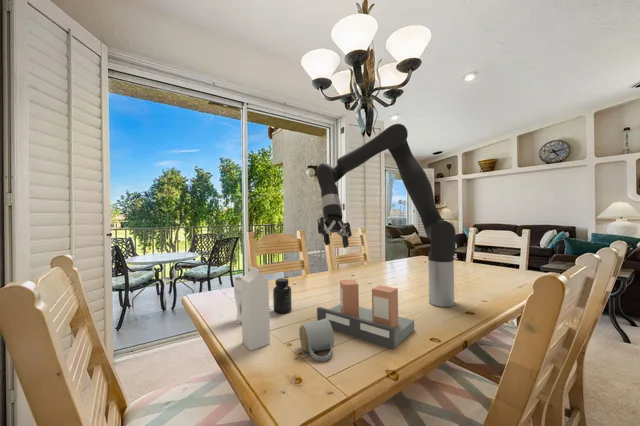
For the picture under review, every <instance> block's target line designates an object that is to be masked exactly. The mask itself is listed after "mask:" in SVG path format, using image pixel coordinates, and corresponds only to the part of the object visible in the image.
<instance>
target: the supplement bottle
mask: <svg viewBox="0 0 640 426" xmlns="http://www.w3.org/2000/svg"><path fill="white" fill-rule="evenodd" d="M289 284H290V283H289V279H288V278H285V277H283V278H282V277H281V278H276V279H275V286H274V288H273V290H272V292H273V293H272V295H273V296H272V297H273V298H272V299H273V302H272V303H273V312H274V313H275V314H278V315H286V314H289V313H290V312H291V311H292V307H293V305H292V303H293V302H292V288H291V286H290V285H289Z"/></svg>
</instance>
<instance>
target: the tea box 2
mask: <svg viewBox="0 0 640 426" xmlns="http://www.w3.org/2000/svg"><path fill="white" fill-rule="evenodd" d="M398 291H399V288H397V287H391V286H385V285H381V284H379V285H378V286H375V287H373V288H371V305H372V306H371V308H372V309H371V310H372V322H376V323H379V324H383V325H387V326H390V327H394V328H395V327H396V326H397V325H398V317H399V292H398Z"/></svg>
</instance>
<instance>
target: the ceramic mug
mask: <svg viewBox="0 0 640 426" xmlns="http://www.w3.org/2000/svg"><path fill="white" fill-rule="evenodd" d="M298 335H299V343H300V347H301V349H302V351H303V352H305V353H309V355H310V356H311V357H312V359H313V360H315V361H318V362H325V361H328V360H329V359H330V358H331V357H332V355H333V348H334V346H335V335H334V330H333V329H332V326H331V324H330V322H329V320H328V319H322V320H318V321H317V320H314V321H311V322H306V323H304V324H302V325H301V326H300V327H299V333H298ZM325 350H330V351H329V352H328V354H327V355H324V356H320V355H316V354H315V352H318V351H319V352H320V351H325Z"/></svg>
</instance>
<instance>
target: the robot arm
mask: <svg viewBox="0 0 640 426" xmlns="http://www.w3.org/2000/svg"><path fill="white" fill-rule="evenodd" d="M408 134H409V133H408V129H407V127H406V125H404V124H402V123H398V122H395V123H392V124H390V125H388V126H387V127H386V128H384V129H383V130H382V131H381V132H380V133H379V134H377V135H376V136H374V137H373V138H371V139H370V140H368V141H367V142H364V143H363V144H362V145H360V146H357V147H356V148H355V149H353V150H351V151H349V152H347V153H345V154H344V155H342V156H340V157H339V158H337V159H336V160H337V161H336V165H335V167H334V168H333V166H332V165H331V164H330V163H328V162H322V163H320V164H319V165H318V166H317V169H316V178H317V181H318V185H319V188H320V193H321V206H322V207H321V208H322V216H320V218H318V219H317V232H318V234H319V235H322V238H323V244H324V245H325V246H329V245H330V244H331V240H330V239H331V237H330V234H329V233H330V232H332V233H333V232H334V233H337V235H338V236H340V237H341V238H342V239H341V240H342V247H343V248H344V249H346V248H348V247H349V246H350V243H349V238H350V237H352V235H353V234H352V230H351V225H350V223H349V222H348V221H347V222H344V221H343V212H342V211H343V209H342V204H341V198H340V196H339V195H340V194H339V190H338V185H337V183H338V182H339V181H340V180H341V179H342V178H343V177H344V176H345V175H346V174H347V173H350V172H351V171H352V170H354V169H357V168H358V167H359V166H362V165H363V164H364V163H366V162H368V161H369V160H370V159H372V158H374V156H377V155H378V154H380V153H381V152H384V151H386V150H388V152H389V153H390V154H391V156H392V158H393V160H394V162H395V164H396V166H397V170H398V173H399V175H400V178H401V180H402V183H403V185H404V188H405V189H406V192H407V194H408V196H409V197H410V200H411V201H412V204H413V205H414V207H415V208H416V211H417V212H418V215H419V217H420V220H421V223H422V226H423V229H424V232H425V234H426V236H427V238H428V239H429V240H430V250H429V252H428V254H427V255H428V256H427V258H428V303H429V304H431V305H433V306H436V307H441V308H442V307H443V308H449V307H450V308H451V307H453V306H454V305H455V268H454V267H455V265H454V263H455V262H454V259H455V258H454V257H455V253H456V245H457V244H456V238H457V237H456V235H457V232H456V228H455V226H454V225H453V223H451V222H450V221H448V220H444V219H443V217H442V216H441V214H440V213H439V211H438V208H437V206H436V203H435V196H434V192H433V187H432V185H431V182H430V180H429V177H428V176H427V174H426V171H425V170H424V169H423V167H422V166H421V164H420V163H419V162H418V161H417V159H416V157H415V156H414V155H413V153H412V150H411V147H410V146H409V142H408V136H409V135H408Z"/></svg>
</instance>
